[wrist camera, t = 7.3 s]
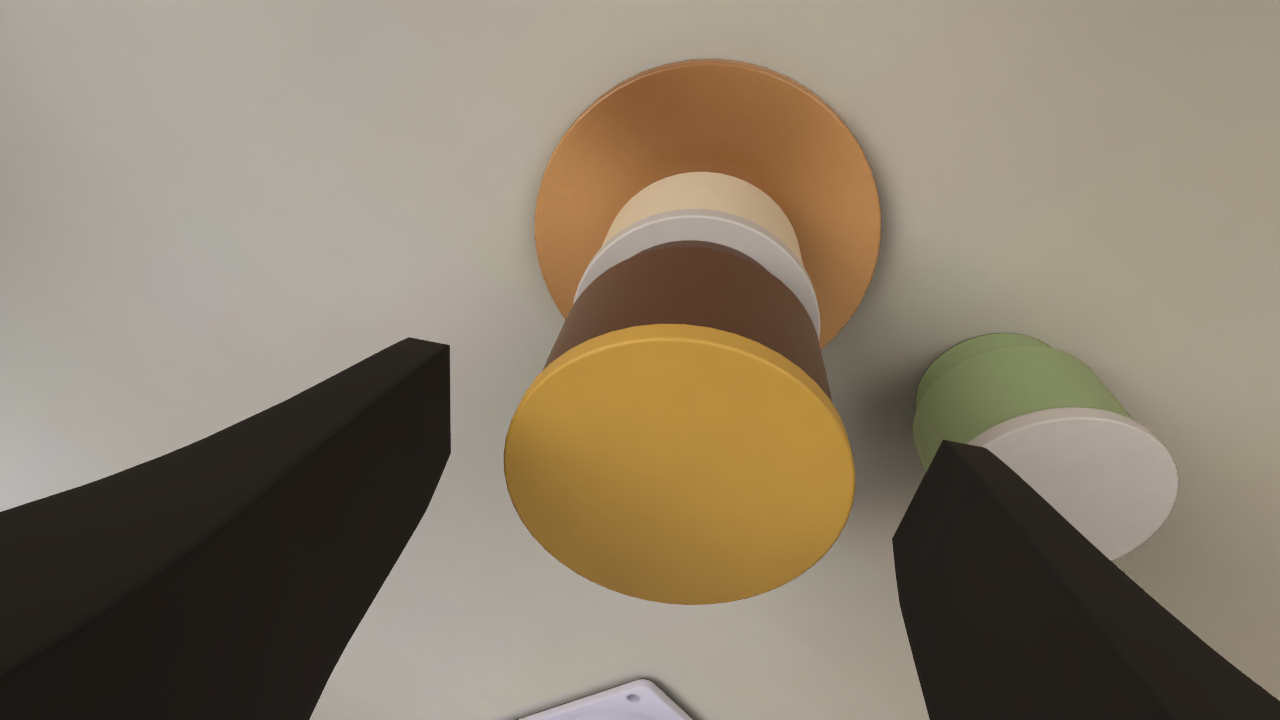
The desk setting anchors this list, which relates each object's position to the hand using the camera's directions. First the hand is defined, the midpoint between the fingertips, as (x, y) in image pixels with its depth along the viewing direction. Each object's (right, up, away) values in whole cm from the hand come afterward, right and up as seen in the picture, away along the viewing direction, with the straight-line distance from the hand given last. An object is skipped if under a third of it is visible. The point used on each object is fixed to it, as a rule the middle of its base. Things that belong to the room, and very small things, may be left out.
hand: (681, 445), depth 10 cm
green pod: (+9, 0, +8) cm, 12 cm away
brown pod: (0, +2, +3) cm, 3 cm away
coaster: (+1, +4, +7) cm, 8 cm away
